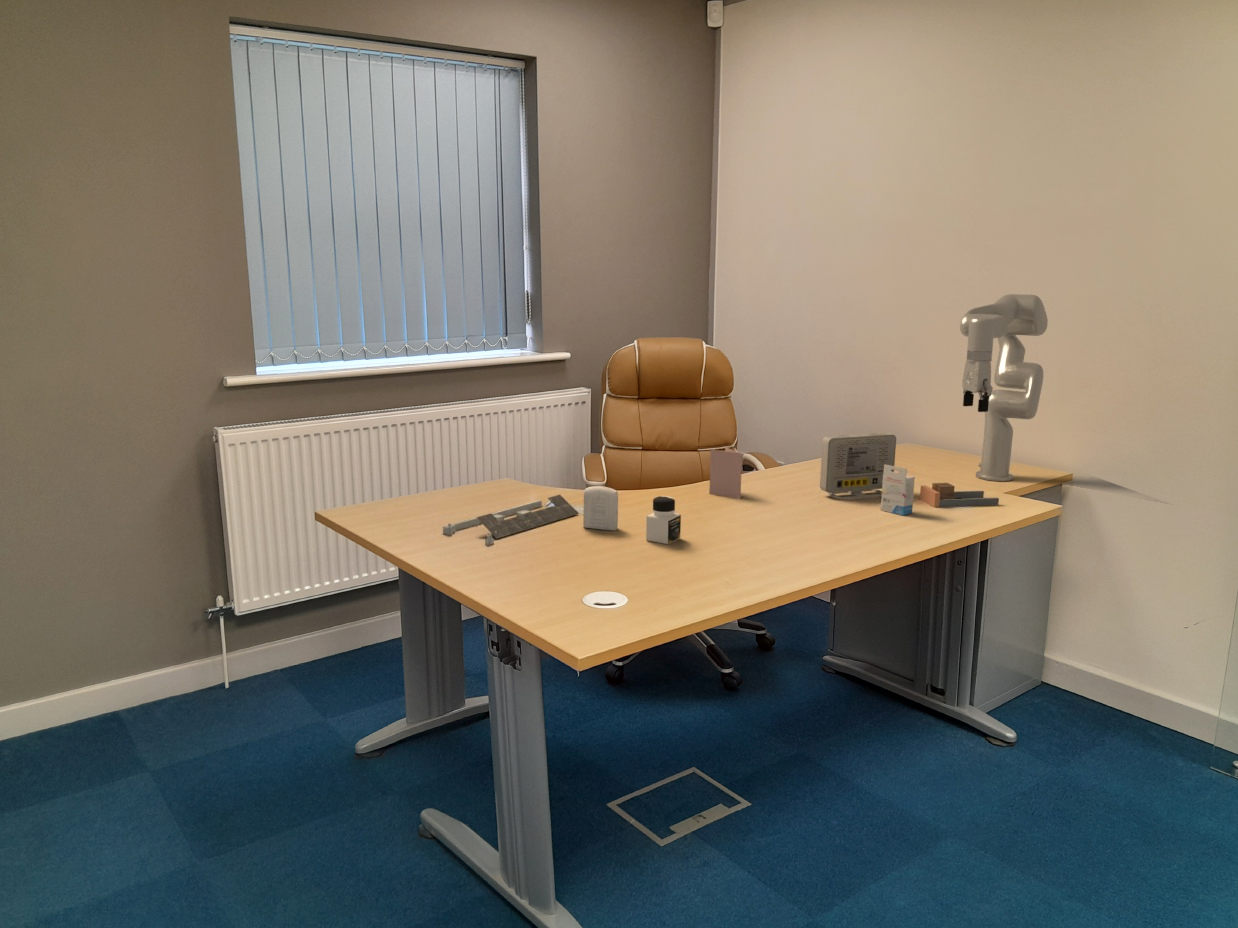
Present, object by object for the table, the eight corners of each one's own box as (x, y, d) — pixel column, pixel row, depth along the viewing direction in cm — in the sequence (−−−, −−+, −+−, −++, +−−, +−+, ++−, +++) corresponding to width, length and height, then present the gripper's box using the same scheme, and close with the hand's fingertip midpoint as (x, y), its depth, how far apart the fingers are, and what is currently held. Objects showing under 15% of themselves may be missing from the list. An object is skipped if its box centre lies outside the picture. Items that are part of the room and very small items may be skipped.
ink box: (912, 513, 284) (916, 466, 281) (903, 516, 281) (907, 468, 278) (889, 507, 290) (892, 462, 287) (879, 510, 287) (883, 464, 284)
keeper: (931, 500, 299) (932, 482, 298) (945, 500, 300) (947, 482, 298) (938, 504, 294) (939, 486, 293) (953, 504, 295) (954, 486, 294)
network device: (882, 488, 314) (886, 431, 310) (897, 495, 306) (901, 435, 302) (815, 494, 306) (819, 435, 302) (829, 500, 298) (833, 440, 294)
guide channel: (919, 498, 301) (920, 485, 300) (981, 497, 304) (983, 483, 303) (934, 507, 291) (935, 493, 290) (998, 505, 294) (999, 491, 293)
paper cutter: (443, 534, 261) (442, 515, 260) (552, 503, 294) (552, 486, 293) (486, 547, 250) (486, 527, 248) (595, 513, 283) (595, 496, 282)
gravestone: (619, 527, 267) (620, 486, 264) (615, 531, 263) (615, 489, 260) (586, 524, 270) (586, 483, 267) (581, 528, 266) (581, 486, 263)
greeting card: (742, 498, 301) (744, 453, 297) (722, 500, 298) (724, 455, 295) (726, 490, 311) (727, 446, 308) (706, 492, 308) (707, 448, 305)
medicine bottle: (668, 544, 251) (669, 502, 249) (645, 540, 255) (646, 498, 252) (680, 538, 257) (681, 496, 254) (658, 534, 261) (659, 493, 258)
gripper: (955, 353, 302) (951, 404, 306) (981, 360, 285) (977, 414, 290) (977, 352, 303) (973, 403, 307) (1004, 359, 286) (1000, 413, 291)
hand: (975, 408), depth 299 cm, fingers open, 9 cm apart
